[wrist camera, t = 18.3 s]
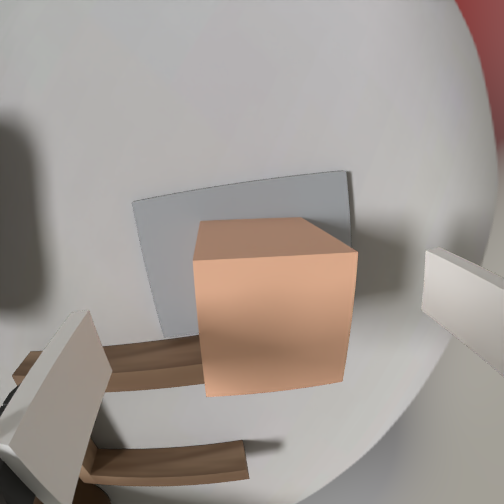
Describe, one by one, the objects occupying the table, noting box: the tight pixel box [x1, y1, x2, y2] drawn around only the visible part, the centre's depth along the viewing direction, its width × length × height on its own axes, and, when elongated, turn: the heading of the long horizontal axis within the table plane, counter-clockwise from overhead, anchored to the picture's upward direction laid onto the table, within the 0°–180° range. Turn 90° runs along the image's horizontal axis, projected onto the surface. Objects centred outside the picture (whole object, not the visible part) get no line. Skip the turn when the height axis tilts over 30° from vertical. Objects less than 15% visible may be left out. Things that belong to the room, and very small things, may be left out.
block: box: [193, 217, 358, 397], centre depth 16 cm, size 6×6×8 cm
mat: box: [132, 171, 352, 338], centre depth 20 cm, size 9×13×1 cm
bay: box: [12, 335, 249, 486], centre depth 21 cm, size 13×16×4 cm
